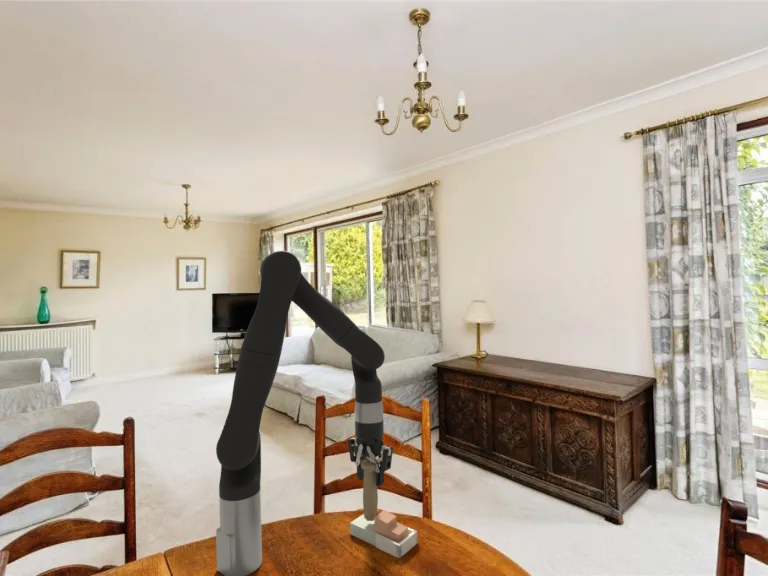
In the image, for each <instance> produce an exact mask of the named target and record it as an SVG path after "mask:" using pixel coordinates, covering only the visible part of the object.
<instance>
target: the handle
mask: <svg viewBox="0 0 768 576" xmlns="http://www.w3.org/2000/svg"><path fill="white" fill-rule="evenodd" d="M375 458H376V459H377V458H378V456H377V457H375ZM378 464H379V462H378ZM379 465H380V464H379ZM361 468H362V469H363V470H364V479H363V486H362V487H363V488H362V492H363V493H362V504H363V505H362V506H363V514H364V518H365V519H366V520H367V521H374V519H375V516H377V515H378V513H377V512H378V502H379V499H378V498H379V497H378V495H379V494H378V487H377V486H376V475H375V472H376V469H375V465H374V464H372V461H371V458H369V457H366V458H363V459H361Z"/></svg>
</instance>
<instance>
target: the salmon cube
mask: <svg viewBox="0 0 768 576" xmlns="http://www.w3.org/2000/svg"><path fill="white" fill-rule="evenodd" d="M408 528H409V527H408V526H406V525H403V524H402V523H400V522H398V521H396V523H394V524H393V525H392V526H391V527H389V528H388V529H387V538H389V539H391V540H393V541H395V542H397V543H399V542H400V541H402V540H403V539H404V538H405V537H407V533H408Z"/></svg>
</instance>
